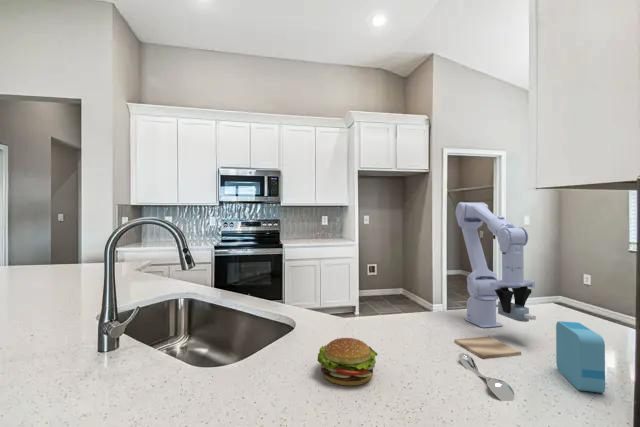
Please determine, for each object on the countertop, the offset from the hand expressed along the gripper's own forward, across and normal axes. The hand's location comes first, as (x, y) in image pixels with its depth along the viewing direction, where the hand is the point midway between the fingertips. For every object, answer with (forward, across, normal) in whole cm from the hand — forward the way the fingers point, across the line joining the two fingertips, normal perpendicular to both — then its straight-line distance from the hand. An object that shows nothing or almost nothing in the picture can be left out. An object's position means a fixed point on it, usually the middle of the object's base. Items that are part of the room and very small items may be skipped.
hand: (512, 312), depth 101 cm
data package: (+9, -6, -25) cm, 27 cm away
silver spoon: (+9, -26, -18) cm, 33 cm away
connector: (+1, 0, -1) cm, 2 cm away
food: (+9, -56, -10) cm, 57 cm away
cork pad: (+8, -13, -4) cm, 16 cm away
